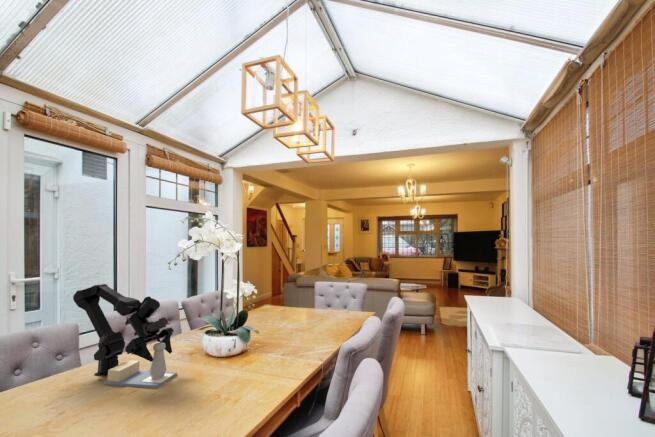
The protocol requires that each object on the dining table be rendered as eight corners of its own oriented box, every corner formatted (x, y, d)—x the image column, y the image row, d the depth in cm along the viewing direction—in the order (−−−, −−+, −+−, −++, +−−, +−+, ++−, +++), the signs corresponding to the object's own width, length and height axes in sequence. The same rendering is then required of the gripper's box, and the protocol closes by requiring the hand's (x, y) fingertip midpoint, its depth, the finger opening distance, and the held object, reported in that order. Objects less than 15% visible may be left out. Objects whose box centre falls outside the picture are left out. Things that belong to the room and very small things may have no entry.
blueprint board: (104, 384, 117) (105, 370, 117) (128, 371, 129) (129, 359, 129) (156, 388, 114) (157, 374, 114) (176, 375, 126) (177, 362, 126)
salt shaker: (163, 380, 118) (164, 345, 119) (146, 381, 117) (148, 346, 118) (167, 373, 124) (169, 340, 125) (152, 374, 123) (154, 341, 124)
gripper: (133, 317, 115) (154, 350, 111) (171, 307, 133) (191, 336, 129) (115, 337, 117) (136, 370, 112) (156, 325, 134) (175, 353, 130)
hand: (162, 356), depth 121 cm, fingers open, 9 cm apart
